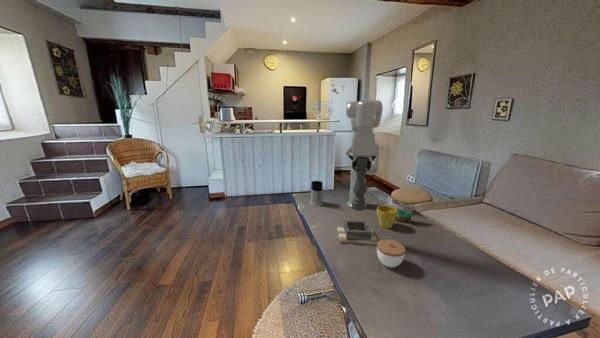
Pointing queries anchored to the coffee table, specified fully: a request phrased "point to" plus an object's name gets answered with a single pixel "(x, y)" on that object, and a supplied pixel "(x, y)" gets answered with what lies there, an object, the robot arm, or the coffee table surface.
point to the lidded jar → (390, 253)
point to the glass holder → (317, 193)
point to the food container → (403, 212)
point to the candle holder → (360, 184)
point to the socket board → (356, 233)
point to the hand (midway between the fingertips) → (361, 169)
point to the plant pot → (386, 216)
